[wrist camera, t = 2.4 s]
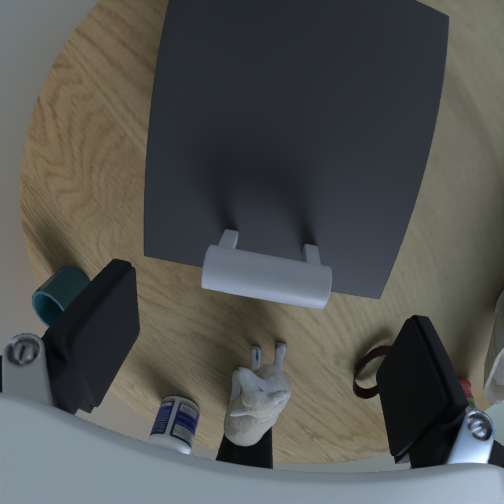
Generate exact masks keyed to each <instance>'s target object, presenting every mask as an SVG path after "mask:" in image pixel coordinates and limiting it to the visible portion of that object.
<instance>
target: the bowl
mask: <svg viewBox="0 0 504 504" xmlns="http://www.w3.org/2000/svg"><path fill="white" fill-rule="evenodd" d="M495 314H496V320H495V324H494V328H493V331H492V335H491V340H490V344H489V348H488V352H487V356H486V360H485V368H484V389H483V390H484V392H485V394H486V396H487V398H488V400H489V401H490V403H491V404H502V403H504V289H503V291H502V293H501V294H500V296H499V298H498V299H497V304H496V308H495Z"/></svg>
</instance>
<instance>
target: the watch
mask: <svg viewBox="0 0 504 504" xmlns="http://www.w3.org/2000/svg"><path fill="white" fill-rule="evenodd" d="M391 347H392V346H379V347H377V348H375V349H373V350H372V351H370V352H369V353H368V354H367V355H365V356H364V357H363V358H362V359H361V361H360V362H359V363H358V365H357V367H356V371H355V374H354V380H353V391H354V393H355V394H356V395H357V396H358V397H360V398H363V399H368V398H372V397H374V396H376V395H377V394H378V393H379V391H378V386H377V385H376V386H374V387H372V388H369V389H364V388H361V387H359V386H358V385H357V384H356V381H355V380H356V378H357V376H358V375H359V373H360V372H361V371H362V370H363V369H364V367H365V366H366V364H367V363H368V362H370V361H371V360H372V359H374V358H376V357H378V356H382V355H387V354H388V352H389V350H390V348H391Z"/></svg>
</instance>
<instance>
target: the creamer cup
mask: <svg viewBox="0 0 504 504" xmlns="http://www.w3.org/2000/svg"><path fill="white" fill-rule="evenodd" d="M89 283H90V280H89V279H88V277H87V276H86V275H85V274H84V273H83V272H82V271H81V270H79V269H78V268H76V267H74V266H70V265H67V266H63V267H62V268H60V269H59V270H58V271H57V272H56V273H55V274H53V275H52V276H51V277H50V278H49V279H48V280H47V281H46V282H45V283H44V284H43V285H42V286H40V287H39V288H38V289H37V290H36V291H35V293H34V294H33V296H32V305H33V307H34V310H35V312H36V314H37V315H38V317H39V318H40V319H41V321H42V322H43V323H44V324H45V325H46V326H47V327H50V326H51V325H52V324H53V322H54V321H55V320H56V319H57V318H58V317H59V316H60V314H61V313H62V312H63V311H64V310H65V309H66V308H67V307H68V306H69V304H70V303H71V302H72V301H73V300H74V299H75V298H76V297H77V296H78V295H79V294H80V293H81V292H82V290H83V289H84V288H85V287H86V286H87V285H88V284H89Z"/></svg>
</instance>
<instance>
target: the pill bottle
mask: <svg viewBox="0 0 504 504" xmlns="http://www.w3.org/2000/svg"><path fill="white" fill-rule="evenodd" d="M199 415H200V410H199V408H198V406H197V405H196V404H195V403H193V402H192V401H190V400H188V399H186V398H183V397H178V396H169V397H166V398H165V399H163V401H162V403H161V406H160V408H159V411H158V414H157V417H156V420H155V423H154V426H153V428H152V431H151V434H150V437H149V443H150V444H153V445H156V446H160V447H163V448H166V449H170V450H174V451H177V452H181V453H185V454H189V453H190V451H191V447H192V443H193V439H194V435H195V431H196V427H197V423H198V419H199Z"/></svg>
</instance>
